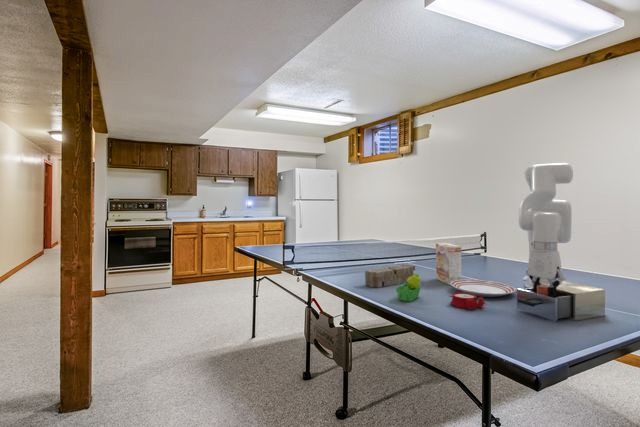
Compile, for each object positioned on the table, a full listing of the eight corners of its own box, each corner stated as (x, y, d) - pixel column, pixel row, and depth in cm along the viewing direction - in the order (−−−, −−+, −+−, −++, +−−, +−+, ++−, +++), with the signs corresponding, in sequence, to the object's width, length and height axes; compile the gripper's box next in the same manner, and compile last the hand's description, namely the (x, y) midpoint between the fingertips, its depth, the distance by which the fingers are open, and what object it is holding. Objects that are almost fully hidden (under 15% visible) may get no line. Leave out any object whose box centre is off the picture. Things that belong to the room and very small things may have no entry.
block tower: (375, 290, 177) (416, 280, 194) (375, 273, 177) (415, 264, 193) (365, 287, 184) (405, 277, 200) (364, 270, 183) (404, 262, 200)
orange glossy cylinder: (533, 295, 134) (533, 284, 134) (543, 294, 136) (543, 283, 136) (546, 299, 129) (546, 287, 129) (555, 297, 131) (556, 286, 131)
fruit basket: (405, 294, 164) (405, 270, 164) (424, 297, 159) (424, 272, 159) (395, 300, 155) (394, 274, 155) (415, 303, 150) (414, 276, 150)
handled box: (544, 322, 122) (545, 299, 122) (506, 310, 137) (506, 289, 136) (584, 316, 129) (584, 294, 129) (543, 304, 143) (544, 285, 143)
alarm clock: (460, 291, 155) (490, 290, 142) (463, 306, 154) (494, 306, 141) (443, 294, 150) (472, 294, 137) (445, 309, 149) (475, 310, 136)
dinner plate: (505, 286, 178) (505, 279, 178) (524, 301, 151) (524, 293, 151) (446, 284, 184) (446, 278, 183) (455, 298, 157) (455, 291, 157)
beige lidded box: (575, 320, 126) (575, 293, 126) (532, 308, 142) (532, 283, 142) (604, 315, 132) (605, 289, 132) (560, 303, 147) (560, 280, 147)
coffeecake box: (435, 278, 197) (435, 243, 197) (448, 278, 198) (448, 242, 197) (448, 285, 182) (448, 246, 182) (461, 284, 183) (461, 246, 182)
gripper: (517, 244, 139) (517, 291, 139) (560, 249, 123) (560, 303, 123) (531, 243, 141) (531, 289, 142) (575, 248, 125) (575, 300, 126)
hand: (544, 295), depth 133 cm, fingers closed on orange glossy cylinder, 5 cm apart
